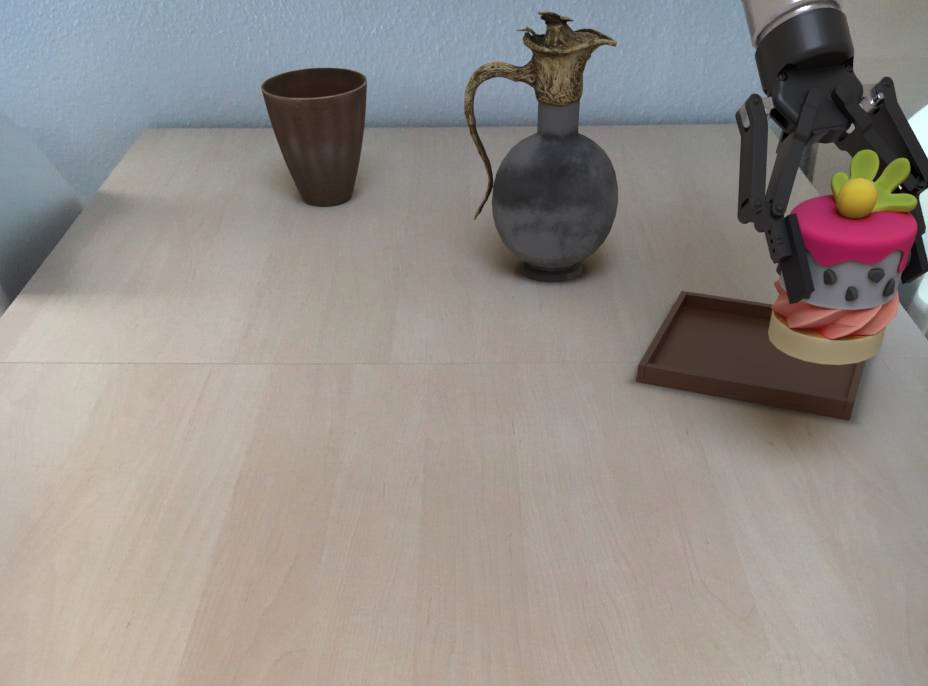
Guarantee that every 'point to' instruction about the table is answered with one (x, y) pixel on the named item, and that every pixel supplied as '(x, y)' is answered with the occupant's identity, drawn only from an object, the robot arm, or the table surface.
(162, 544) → the table surface
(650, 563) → the table surface
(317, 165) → the flower pot
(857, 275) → the cake
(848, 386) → the tray
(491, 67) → the pitcher
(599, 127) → the table surface
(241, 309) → the table surface
